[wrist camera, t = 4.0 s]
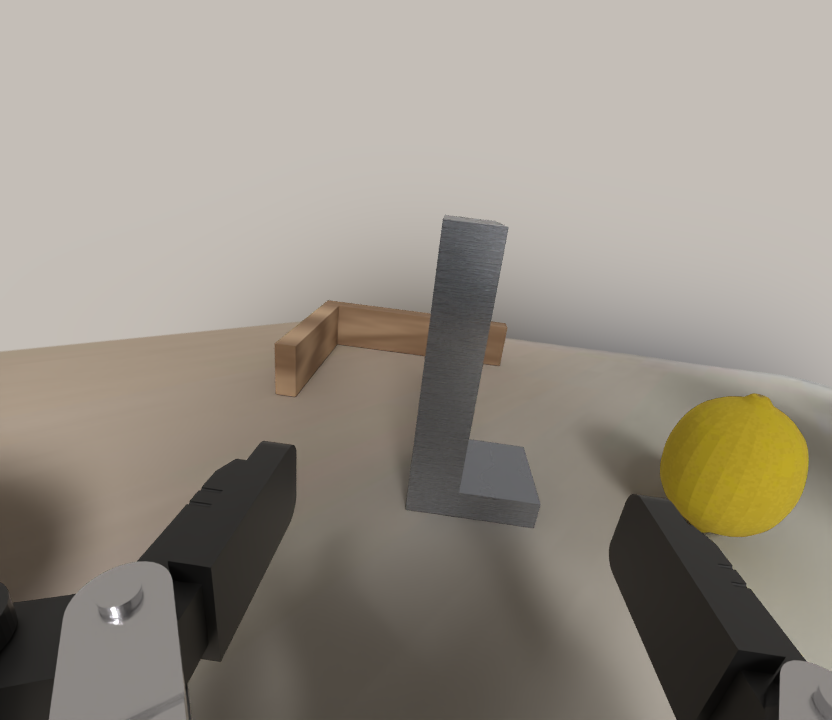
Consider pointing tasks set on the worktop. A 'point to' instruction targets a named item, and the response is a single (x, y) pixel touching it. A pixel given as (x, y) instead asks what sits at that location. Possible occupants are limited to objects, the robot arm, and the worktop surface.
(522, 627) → the worktop surface
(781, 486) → the lemon
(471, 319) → the angle bracket
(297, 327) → the wooden l-shaped block
